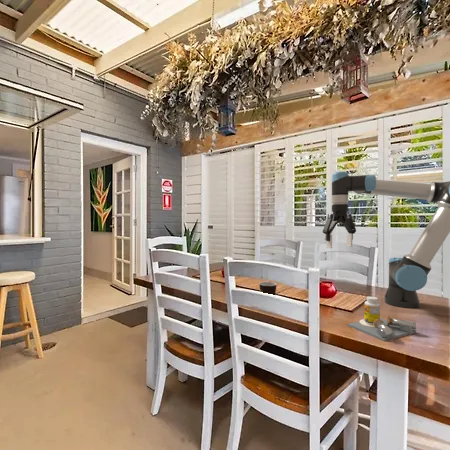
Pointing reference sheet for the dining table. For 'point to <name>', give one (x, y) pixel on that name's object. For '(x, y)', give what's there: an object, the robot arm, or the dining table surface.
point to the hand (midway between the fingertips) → (339, 247)
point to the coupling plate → (372, 329)
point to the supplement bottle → (371, 310)
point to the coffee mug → (268, 287)
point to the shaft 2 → (402, 325)
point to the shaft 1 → (384, 330)
